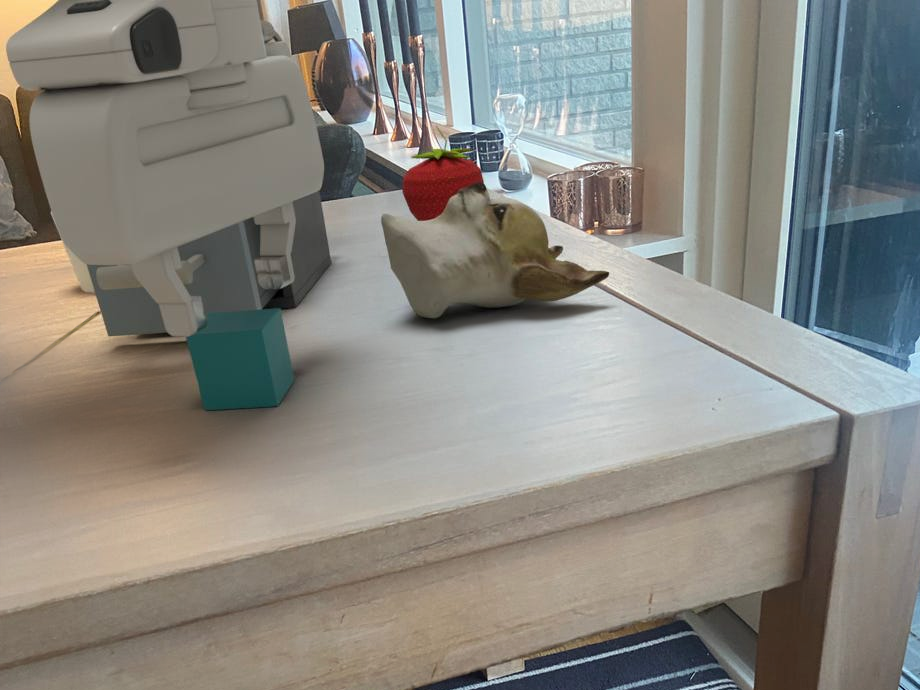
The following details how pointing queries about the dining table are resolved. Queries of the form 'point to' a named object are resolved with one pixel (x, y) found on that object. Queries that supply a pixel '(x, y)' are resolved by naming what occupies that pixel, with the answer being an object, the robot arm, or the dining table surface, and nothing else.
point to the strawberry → (438, 181)
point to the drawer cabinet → (305, 252)
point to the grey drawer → (187, 281)
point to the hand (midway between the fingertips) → (236, 308)
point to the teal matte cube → (242, 359)
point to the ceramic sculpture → (480, 256)
